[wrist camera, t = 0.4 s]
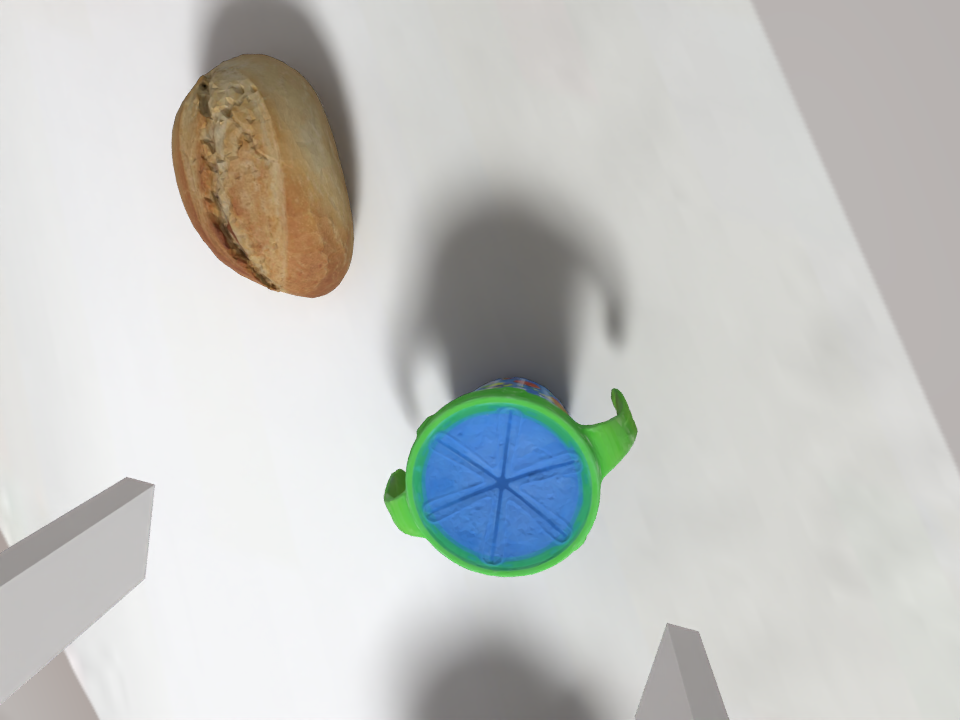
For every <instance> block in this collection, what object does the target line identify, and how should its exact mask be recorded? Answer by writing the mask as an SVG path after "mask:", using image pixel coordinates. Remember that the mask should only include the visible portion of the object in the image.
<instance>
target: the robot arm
mask: <svg viewBox="0 0 960 720" xmlns="http://www.w3.org/2000/svg"><path fill="white" fill-rule="evenodd" d="M154 488H155V485H154V484H150V483H147V482H143V481H139V480H136V479H132V478H128V477H126V478H124V479H123V480H121V481H119V482H118V483H116V484H114V485H113V486H111V487H109V488H108V489H106V490H104V491H103V492H101V493H99V494H98V495H96V496H94V497H93V498H91V499H89V500H88V501H86V502H84V503H83V504H81V505H79V506H78V507H76V508H74V509H73V510H71V511H69V512H68V513H66V514H64V515H63V516H61V517H59V518H58V519H56V520H54V521H53V522H51V523H49V524H48V525H46V526H44V527H43V528H41V529H39V530H38V531H36V532H34V533H33V534H31V535H29V536H28V537H26V538H24V539H23V540H21V541H19V542H18V543H16V544H14V545H13V546H11V547H9V548H8V549H6V550H4V551H3V552H1V553H0V705H1V704H2V703H3V702H4V701H6V700H7V699H8V698H9V697H10V696H11V695H12V694H14V693H15V692H16V691H17V690H18V689H19V688H20V687H22V686H23V685H24V684H25V683H26V682H27V681H28V680H30V679H31V678H32V677H33V676H34V675H35V674H36V673H37V672H39V671H40V670H41V669H42V668H43V667H44V666H46V665H47V664H48V663H49V662H50V661H51V660H52V659H54V658H55V657H56V656H57V655H58V654H59V653H60V652H62V651H63V650H64V649H65V648H66V647H67V646H68V645H70V644H71V643H72V642H73V641H74V640H75V639H76V638H78V637H79V636H80V635H81V634H82V633H83V632H84V631H86V630H87V629H88V628H89V627H90V626H91V625H92V624H94V623H95V622H96V621H97V620H98V619H99V618H100V617H102V616H103V615H104V614H105V613H106V612H107V611H109V610H110V609H111V608H112V607H113V606H114V605H115V604H117V603H118V602H119V601H120V600H121V599H122V598H123V597H125V596H126V595H127V594H128V593H129V592H130V591H131V590H133V589H134V588H135V587H136V586H137V585H138V584H139V583H141V582H142V581H143V580H144V579H145V575H146V565H147V555H148V546H149V536H150V526H151V517H152V507H153V497H154ZM635 719H636V720H729V718H728V715H727V712H726V709H725V706H724V703H723V700H722V697H721V695H720V692H719V689H718V686H717V683H716V680H715V677H714V674H713V672H712V669H711V666H710V663H709V660H708V657H707V654H706V651H705V648H704V646H703V643H702V640H701V637H700V634H699V632H698V631H694V630H691V629H687V628H683V627H680V626H676V625H672V624H668V623H667V625H666V628H665V630H664V633H663V636H662V639H661V642H660V645H659V648H658V651H657V654H656V657H655V660H654V662H653V665H652V668H651V671H650V674H649V677H648V680H647V683H646V686H645V689H644V692H643V694H642V697H641V700H640V703H639V706H638V709H637V712H636V715H635Z"/></svg>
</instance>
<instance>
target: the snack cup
mask: <svg viewBox="0 0 960 720" xmlns="http://www.w3.org/2000/svg"><path fill="white" fill-rule="evenodd" d="M611 399H612V402H613V405H614V407H615V409H616V411H617V416H615V417H613V418H611V419H610V420H608V421H605V422H602V423H598V424H594V425H581V424H578V423H577V422H575V421H574V420H573V419H572V418H571V417H570V416H569V415H568V413H567V412H566V410H565V408H564V406H563V405H562V404H561V402H560V401H559V399H557V398H555V396H554V395H553V394H552V393H551V392H550V391H549V390H548V389H546V388H545V387H543V386H541V385H539V384H537V383H536V382H533V381H530V380H527V379H525V378H516V377H513V378H504V379H498V380H494V381H491V382H489V383H486V384H484V385H483V386H481V387H479V388H478V389H476V390H475V391H473V392H471V393H468V394H465V395H462V396H460V397H458V398H457V399H455V400H453V401H451V402H449V403H448V404H446V405H445V406H444V407H442V408H441V409H440V410H439V411H438V412H436V413H435V414H434V415H432V416H429V417H427V418H426V420H425V421H424V422H423V423H422V425H421V426H420V427H419V428H418V430H417V438H416V440H415V442H414V444H413V446H412V448H411V451H410V454H409V457H408V462H407V467H406V472H405V471H403V470H402V469H398V470H396V472H394V473H392V474H391V476H390V478H389V480H388V483H387V486H386V489H385V494H384V502H385V504H386V507H387V509H388V511H389V513H390V514H391V516H392V519H393V521H394V523H395V524H396V526H397V527H398V529H399V530H401V531H403V532H404V533H405V534H408V535H411V536H416V537H423V538H426V539H427V540H428V541H429V542H430V543H431V544H432V545H433V546H434V547H435V548H436V549H437V550H438V551H439V552H440V553H441V554H443V555H444V556H445V557H447V558H448V559H450V560H451V561H453V562H454V563H456V564H458V565H459V566H462V567H464V568H466V569H468V570H471V571H474V572H479V573H482V574H486V575H491V576H499V577H515V576H525V575H530V574H531V575H532V574H534V573H538V572H541V571H543V570H546V569H548V568H550V567H552V566H554V565H556V564H558V563H559V562H561V561H562V560H564V559H565V558H567V557H568V556H569V555H570V554H571V553H572V552H573V551H575V550H577V549H578V548H579V547H580V546H581V545H582V544H583V543H584V542H585V540H586V536H587V535H588V533H589V531H590V530H591V528H592V525H593V523H594V521H595V519H596V515H597V511H598V507H599V502H600V487H601V482H602V480H603V478H604V477H605V476H606V475H607V474H608V473H609V472H610V471H611V470H612V469H613V468H614V467H615V466H616V465H617V464H618V463H619V462H620V461H621V460H622V459H623V457H624V456H625V455H626V454H627V453H628V452H629V450H630V448H631V447H632V445H633V443H634V441H635V439H636V435H637V428H636V425H635V422H634V420H633V418H632V415H631V412H630V410H629V407H628V404H627V402H626V400H625V398H624V396H623V394H622V393H621V392H620V391H619V390H618V389H615V388H614V389H612V392H611Z"/></svg>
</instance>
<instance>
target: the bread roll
mask: <svg viewBox="0 0 960 720" xmlns="http://www.w3.org/2000/svg"><path fill="white" fill-rule="evenodd" d="M172 158H173V166H174V171H175V176H176V182H177V185H178V189H179V192H180V195H181V199H182V201H183V204H184V207H185V209H186V212H187V214H188V216H189V218H190V220H191V222H192V224H193V226H194V228H195V229H196V231H197V232H198V233H199V235H200V236H201V238H202V239H203V241H204V242H205V243H206V244H207V245H208V247H209V248H210V249H211V250H212V252H213V253H214V255H215V256H216V257H217V258H218V259H219V260H220V261H222V262H223V263H224V264H225V265H227V266H228V267H230V268H231V269H233V270H234V271H235V272H237V273H238V274H240V275H242V276H244V277H246V278H248V279H250V280H252V281H254V282H256V283H258V284H261V285H263V286H265V287H267V288H268V289H270V290H274V291H277V292H280V291H281V292H285V293H288V294H292V295H296V296H302V297H309V298H315V297H319V296H323V295H326V294H328V293H329V292H331V291H332V290H334V289H335V288H336V287H337V286H338V285H339V284H340V282H341V281H342V279H343V278H344V276H345V274H346V273H347V271H348V269H349V266H350V262H351V259H352V253H353V243H354V234H353V220H352V213H351V208H350V202H349V197H348V192H347V187H346V183H345V179H344V175H343V171H342V167H341V163H340V160H339V156H338V152H337V148H336V144H335V141H334V137H333V134H332V131H331V128H330V125H329V122H328V120H327V117H326V115H325V112H324V110H323V107H322V105H321V103H320V100H319V98H318V97H317V95H316V93H315V91H314V90H313V88H312V87H311V85H310V84H309V83H308V81H307V80H306V79H305V78H304V77H303V76H302V75H301V74H300V73H299V72H298V71H296V70H295V69H293V68H291V67H290V66H288V65H287V64H285V63H283V62H282V61H279V60H277V59H275V58H272V57H270V56H267V55H262V54H242V55H240V56H238V57H235V58H232V59H230V60H227V61H223V62H222V63H221V64H219V65H218V66H217V67H215V68H214V69H213V70H211V71H210V72H208V73H207V74H205V75H202V76H201V77H200V78H199V79H198V81H197V83H196V84H195V85H194V87H193V88H192V89H191V91H190V92H189V93H188V95H187V96H186V97H185V99H184V100H183V102H182V104H181V106H180V108H179V110H178V112H177V114H176V117H175V121H174V125H173V130H172Z"/></svg>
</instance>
